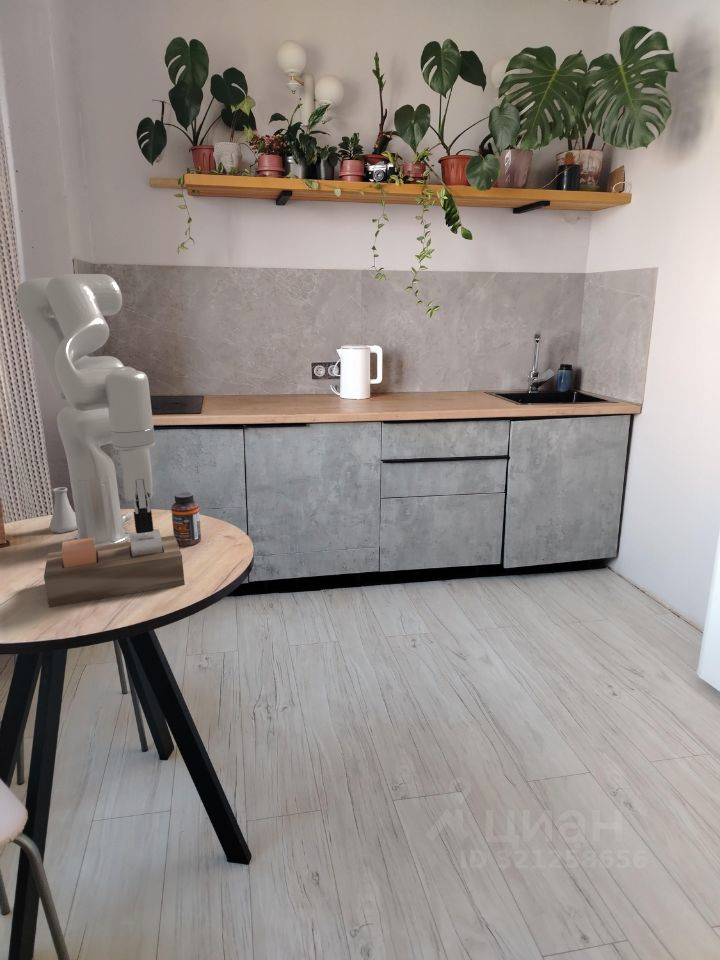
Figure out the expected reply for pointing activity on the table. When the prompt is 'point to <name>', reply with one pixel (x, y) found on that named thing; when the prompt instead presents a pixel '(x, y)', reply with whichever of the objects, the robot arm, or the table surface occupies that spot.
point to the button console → (113, 573)
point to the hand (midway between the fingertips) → (144, 531)
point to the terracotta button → (79, 552)
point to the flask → (62, 513)
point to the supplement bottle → (186, 519)
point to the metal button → (145, 543)
